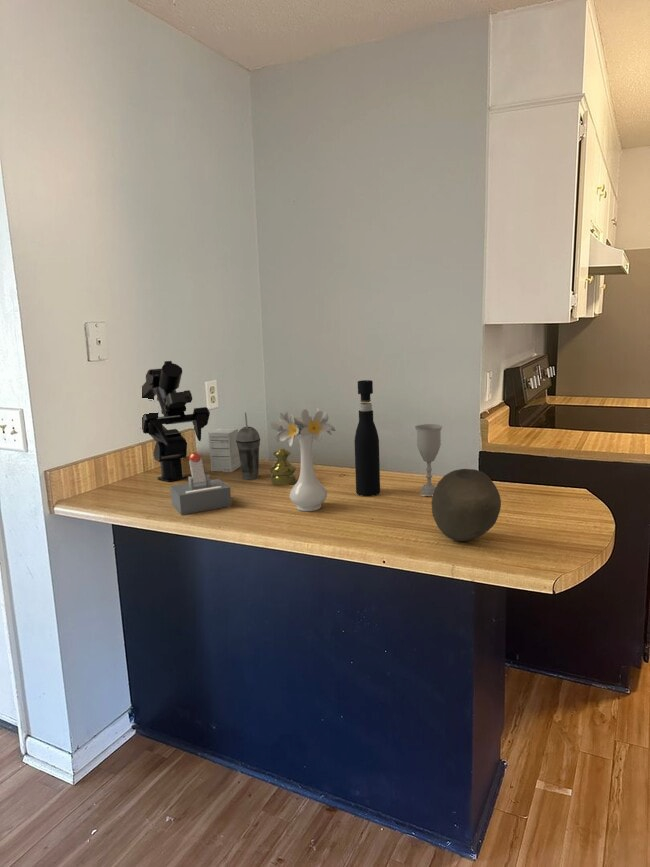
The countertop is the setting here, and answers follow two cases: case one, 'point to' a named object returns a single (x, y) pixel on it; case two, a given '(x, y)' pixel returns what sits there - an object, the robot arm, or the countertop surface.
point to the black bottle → (366, 445)
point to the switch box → (200, 496)
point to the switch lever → (196, 468)
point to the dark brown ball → (465, 504)
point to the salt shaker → (282, 469)
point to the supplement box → (224, 450)
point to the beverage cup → (248, 451)
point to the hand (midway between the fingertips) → (184, 442)
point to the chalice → (428, 450)
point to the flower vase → (304, 455)
